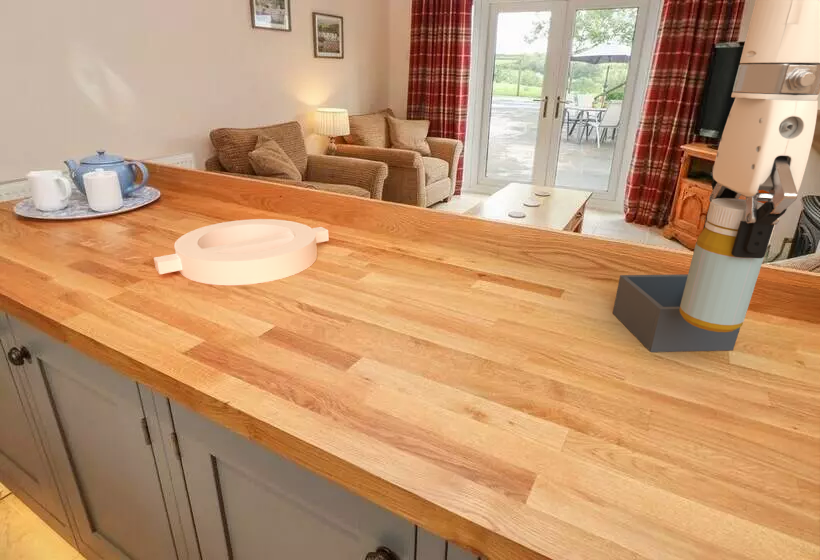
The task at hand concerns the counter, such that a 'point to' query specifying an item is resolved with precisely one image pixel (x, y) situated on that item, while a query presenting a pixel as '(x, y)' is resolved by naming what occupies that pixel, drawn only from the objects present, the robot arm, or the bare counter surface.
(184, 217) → the counter surface
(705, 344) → the box
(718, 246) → the bottle
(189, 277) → the peach handled dish
